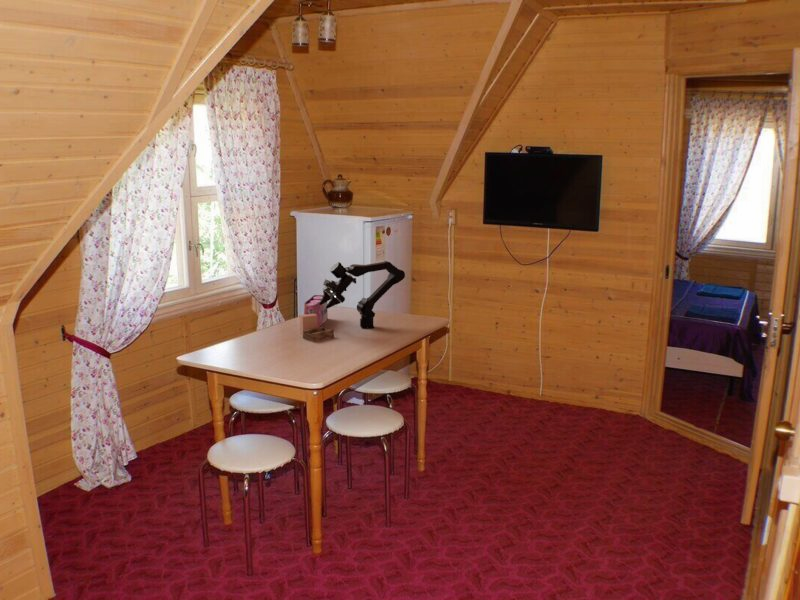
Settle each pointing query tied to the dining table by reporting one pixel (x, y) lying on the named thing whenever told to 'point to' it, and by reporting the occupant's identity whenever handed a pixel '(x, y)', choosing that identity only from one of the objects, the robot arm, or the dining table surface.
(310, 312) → the gum box
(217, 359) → the dining table surface
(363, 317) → the robot arm
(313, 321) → the terracotta block
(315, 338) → the walnut rack
